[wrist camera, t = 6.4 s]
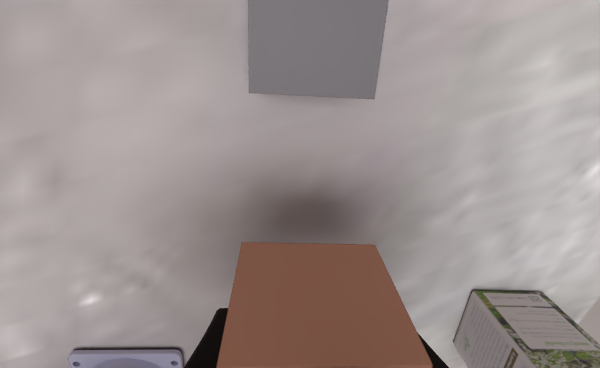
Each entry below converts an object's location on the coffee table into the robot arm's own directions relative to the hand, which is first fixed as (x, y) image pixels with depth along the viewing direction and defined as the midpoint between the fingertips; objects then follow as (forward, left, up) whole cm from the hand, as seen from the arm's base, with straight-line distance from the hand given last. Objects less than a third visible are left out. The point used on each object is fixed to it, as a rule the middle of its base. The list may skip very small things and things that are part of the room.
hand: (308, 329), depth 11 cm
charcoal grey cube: (+10, 0, -10) cm, 14 cm away
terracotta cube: (0, 0, -2) cm, 2 cm away
